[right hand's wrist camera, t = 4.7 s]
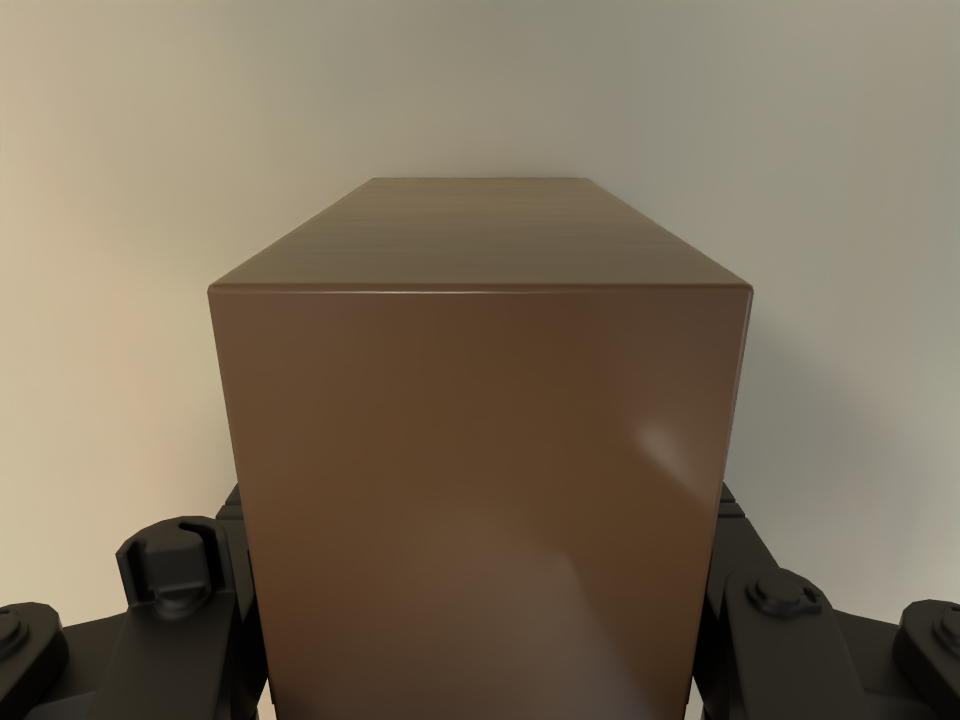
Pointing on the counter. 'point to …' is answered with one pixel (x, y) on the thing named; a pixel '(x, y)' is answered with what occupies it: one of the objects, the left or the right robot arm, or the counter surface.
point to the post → (480, 450)
